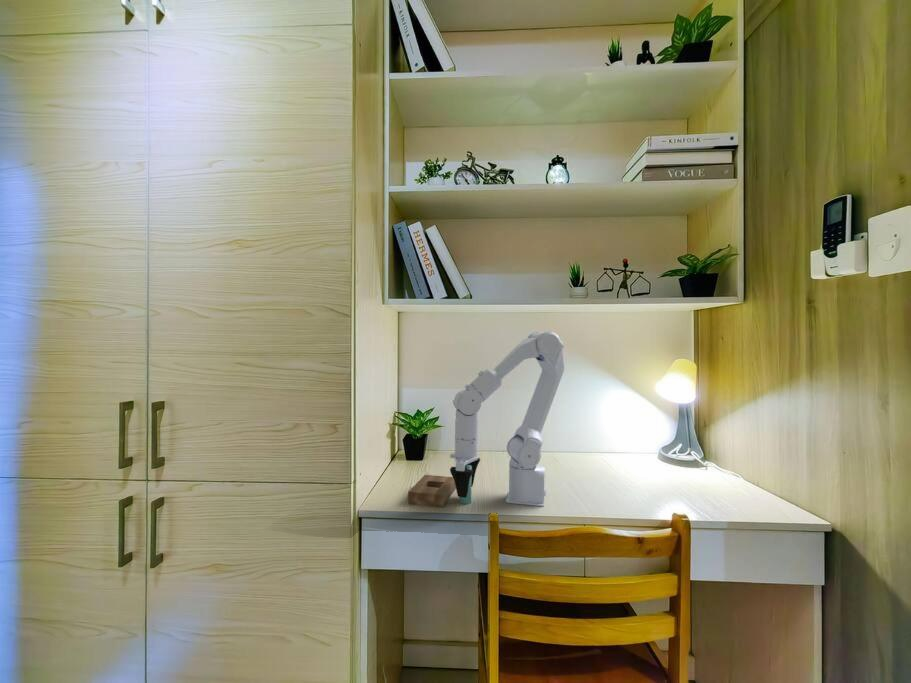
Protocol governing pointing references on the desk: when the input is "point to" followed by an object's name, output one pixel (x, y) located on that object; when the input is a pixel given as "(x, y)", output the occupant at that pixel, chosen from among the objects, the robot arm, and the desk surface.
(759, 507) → the desk surface
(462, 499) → the peg
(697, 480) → the desk surface
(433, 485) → the hole block
